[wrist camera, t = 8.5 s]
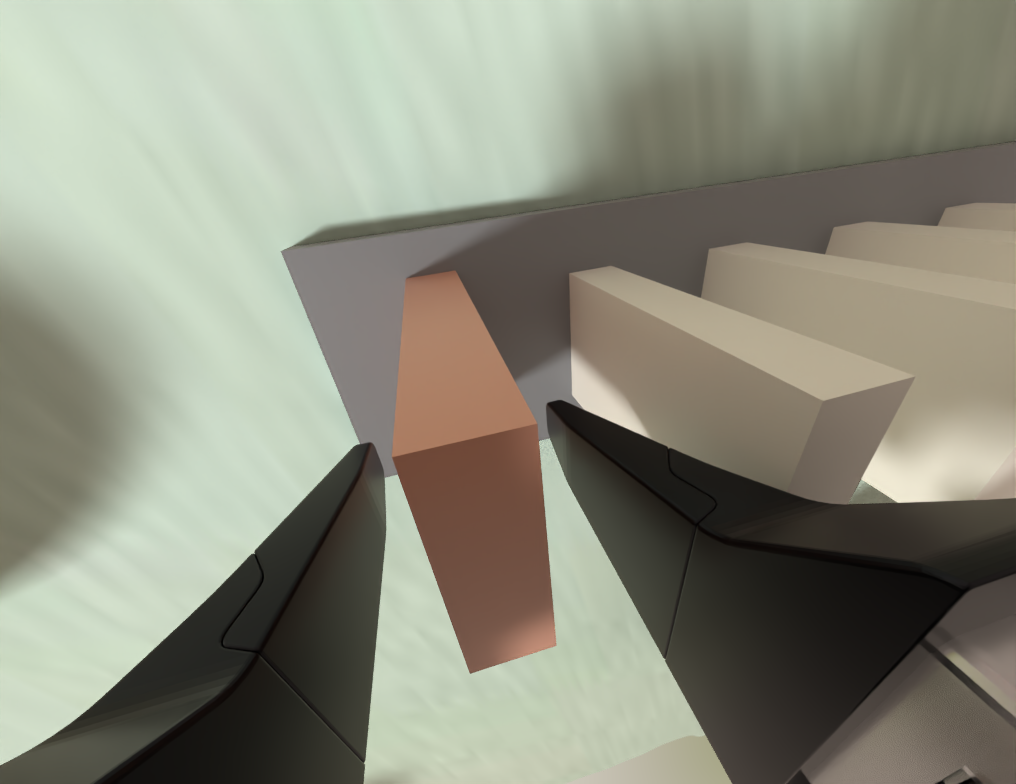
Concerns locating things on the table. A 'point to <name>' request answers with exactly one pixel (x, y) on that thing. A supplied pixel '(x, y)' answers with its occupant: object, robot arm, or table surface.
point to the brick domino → (472, 475)
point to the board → (596, 263)
